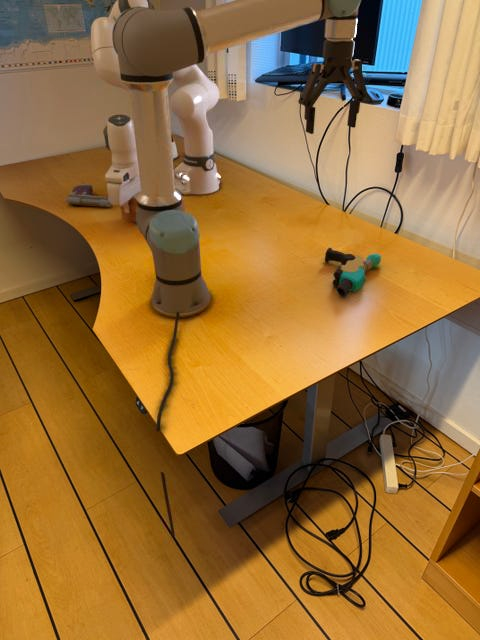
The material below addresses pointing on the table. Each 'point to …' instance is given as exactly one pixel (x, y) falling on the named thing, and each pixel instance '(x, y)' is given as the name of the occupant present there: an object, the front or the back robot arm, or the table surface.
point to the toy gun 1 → (86, 197)
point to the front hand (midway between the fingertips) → (330, 129)
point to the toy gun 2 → (350, 270)
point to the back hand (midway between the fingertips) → (132, 208)
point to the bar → (133, 204)
